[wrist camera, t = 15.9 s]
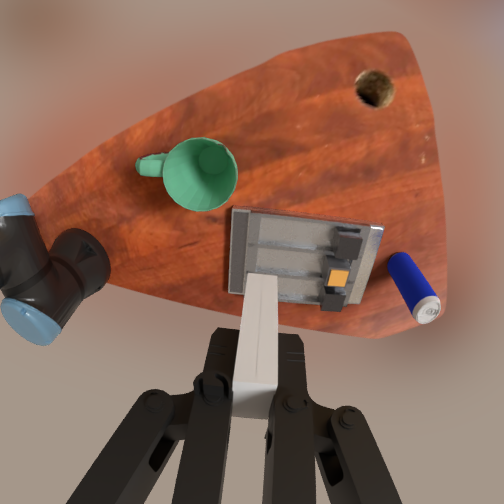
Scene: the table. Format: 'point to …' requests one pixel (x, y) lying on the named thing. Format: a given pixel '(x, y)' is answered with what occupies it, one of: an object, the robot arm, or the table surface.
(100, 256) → the robot arm
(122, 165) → the table surface
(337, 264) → the block
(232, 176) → the mug
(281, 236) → the panel
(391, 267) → the beverage can
